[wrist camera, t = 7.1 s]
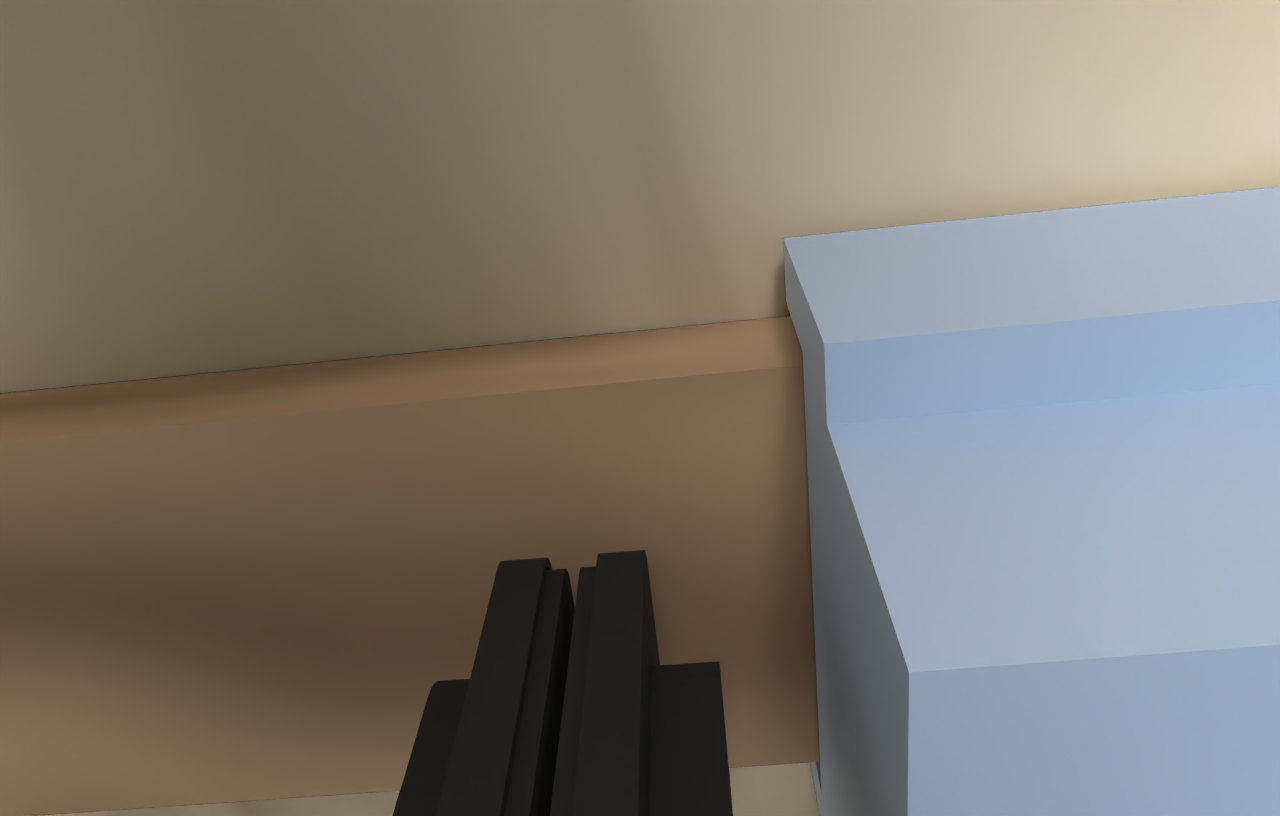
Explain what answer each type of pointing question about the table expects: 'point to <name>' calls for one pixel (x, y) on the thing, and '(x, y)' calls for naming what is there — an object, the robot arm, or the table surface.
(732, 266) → the table surface
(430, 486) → the rail
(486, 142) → the table surface
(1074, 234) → the block
